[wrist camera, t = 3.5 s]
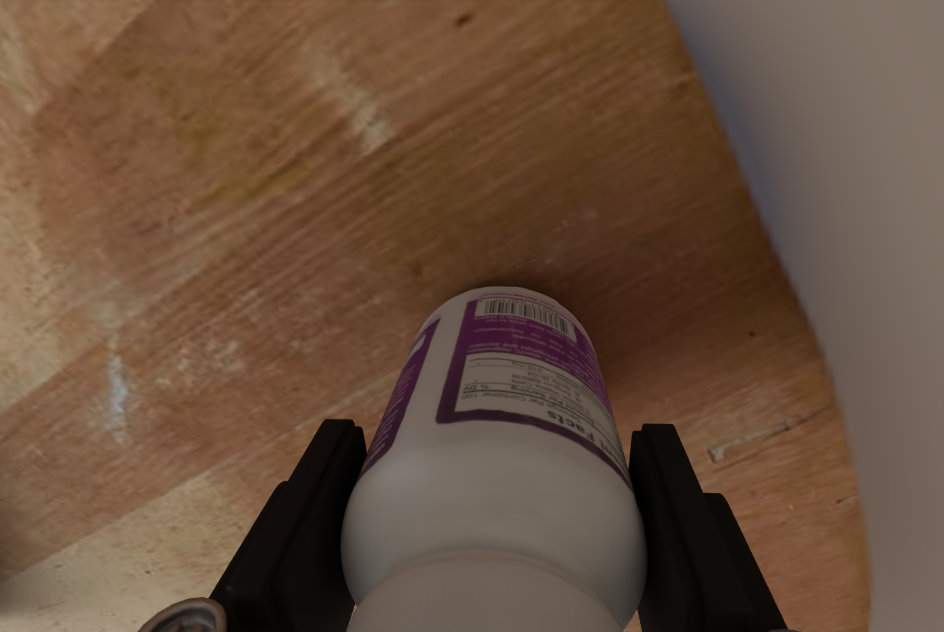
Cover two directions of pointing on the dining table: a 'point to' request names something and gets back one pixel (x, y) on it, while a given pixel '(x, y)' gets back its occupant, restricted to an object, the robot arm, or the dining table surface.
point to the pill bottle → (496, 482)
